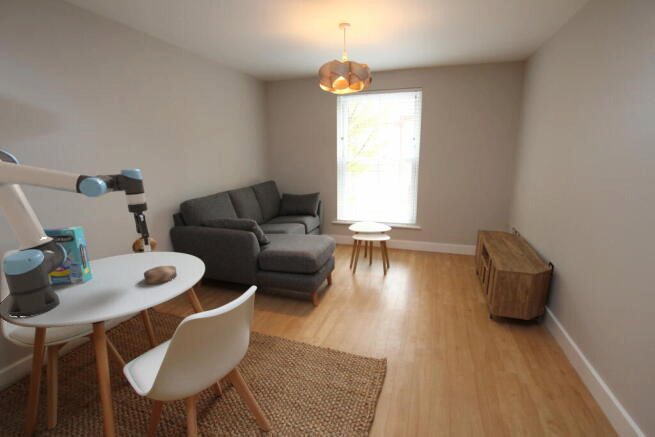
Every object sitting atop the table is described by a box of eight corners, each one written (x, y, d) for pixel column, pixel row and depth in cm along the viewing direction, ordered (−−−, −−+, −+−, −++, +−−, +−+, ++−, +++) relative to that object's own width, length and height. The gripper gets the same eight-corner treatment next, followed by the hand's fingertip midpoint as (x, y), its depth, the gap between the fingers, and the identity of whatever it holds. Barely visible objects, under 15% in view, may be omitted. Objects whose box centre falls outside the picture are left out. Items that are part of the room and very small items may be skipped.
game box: (39, 285, 146) (25, 231, 140) (49, 280, 152) (37, 227, 146) (84, 283, 148) (73, 229, 142) (93, 278, 154) (82, 226, 148)
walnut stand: (148, 287, 142) (147, 279, 141) (142, 278, 153) (141, 270, 152) (180, 278, 151) (179, 271, 150) (172, 270, 162) (171, 263, 161)
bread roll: (160, 254, 148) (162, 238, 150) (145, 252, 138) (148, 234, 140) (141, 254, 149) (143, 238, 151) (125, 252, 139) (128, 235, 141)
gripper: (151, 204, 133) (159, 252, 138) (141, 199, 151) (149, 241, 156) (131, 207, 129) (140, 256, 134) (123, 201, 146) (132, 245, 151)
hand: (145, 248), depth 145 cm, fingers closed on bread roll, 10 cm apart
